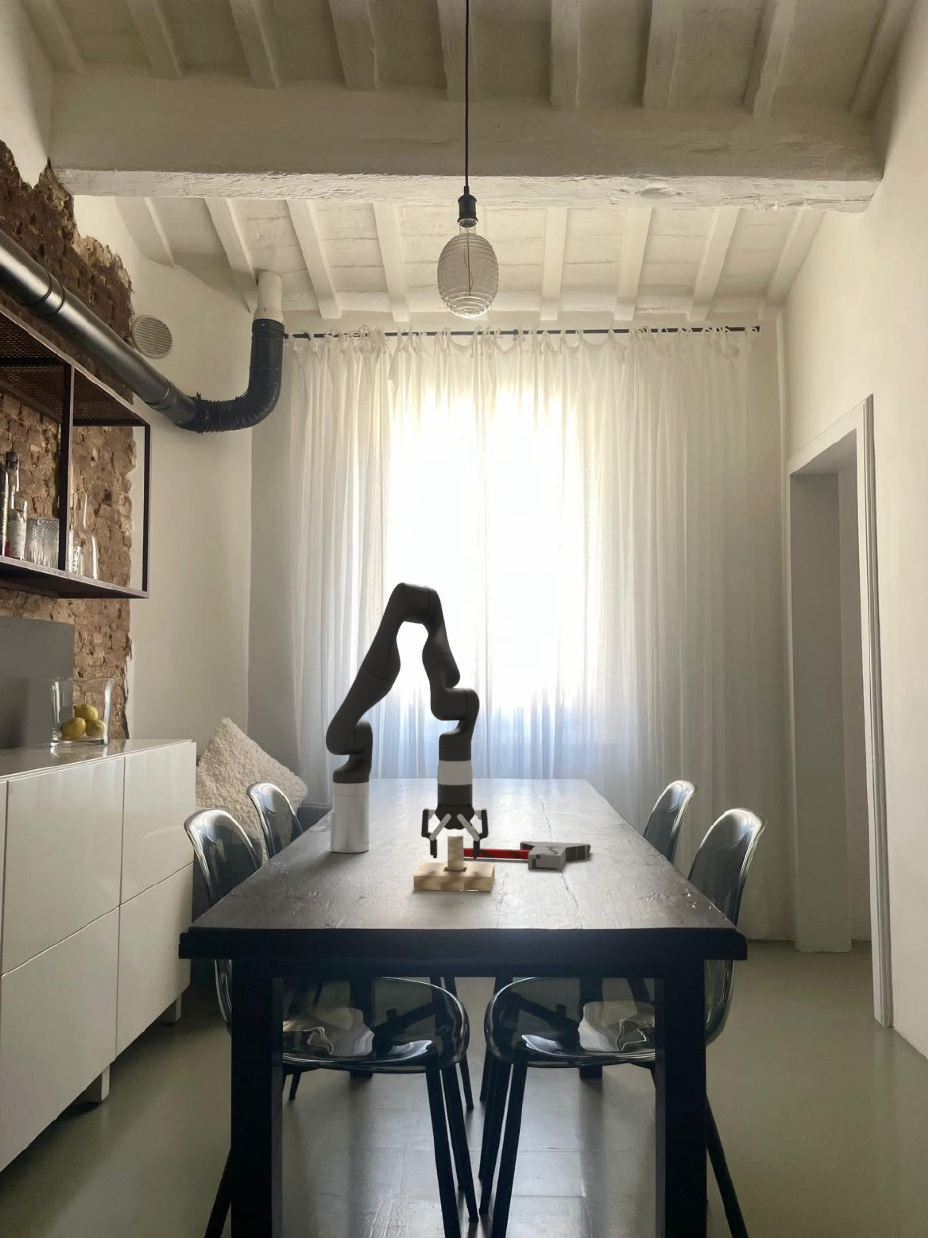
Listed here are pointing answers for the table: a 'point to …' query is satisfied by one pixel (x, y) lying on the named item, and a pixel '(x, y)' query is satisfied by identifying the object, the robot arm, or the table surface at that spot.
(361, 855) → the table surface
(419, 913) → the table surface
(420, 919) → the table surface
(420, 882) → the board
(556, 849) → the toy hammer
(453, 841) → the peg
